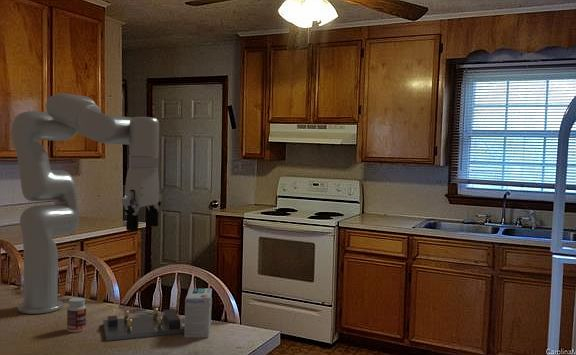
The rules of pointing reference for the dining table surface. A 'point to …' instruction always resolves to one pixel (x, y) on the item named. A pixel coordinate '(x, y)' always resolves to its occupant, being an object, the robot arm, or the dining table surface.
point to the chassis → (142, 325)
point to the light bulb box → (198, 313)
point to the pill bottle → (76, 315)
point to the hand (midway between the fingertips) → (142, 228)
